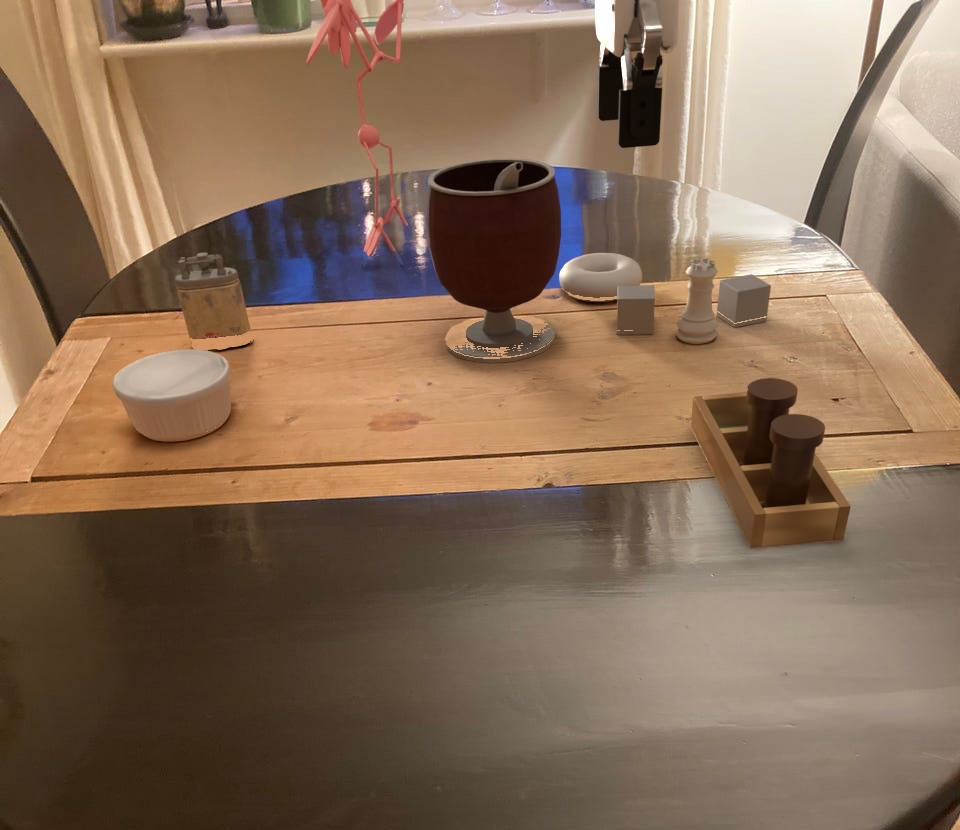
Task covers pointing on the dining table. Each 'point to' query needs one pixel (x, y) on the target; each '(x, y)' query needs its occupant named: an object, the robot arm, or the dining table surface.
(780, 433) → the walnut rook
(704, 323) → the rook chess piece
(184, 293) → the lighter
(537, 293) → the mate gourd
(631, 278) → the donut
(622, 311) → the grey block
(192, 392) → the ramekin
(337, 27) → the figurine
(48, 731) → the dining table surface
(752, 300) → the grey block
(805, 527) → the rack
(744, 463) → the walnut rook
